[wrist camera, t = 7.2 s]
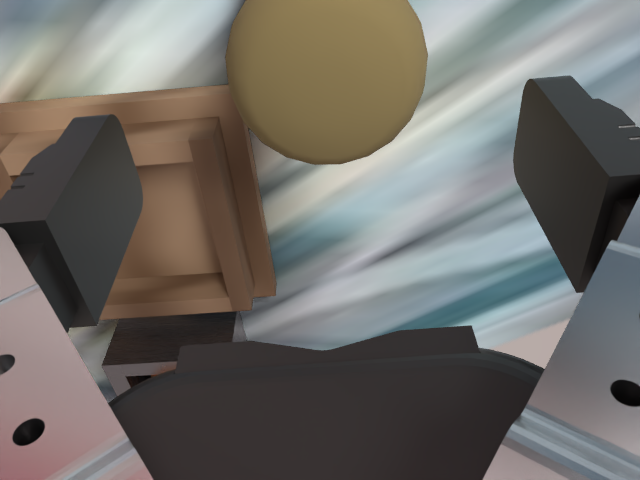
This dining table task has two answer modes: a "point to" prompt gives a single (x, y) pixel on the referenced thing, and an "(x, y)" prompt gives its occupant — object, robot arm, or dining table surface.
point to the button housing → (163, 343)
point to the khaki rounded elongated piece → (326, 74)
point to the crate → (169, 196)
